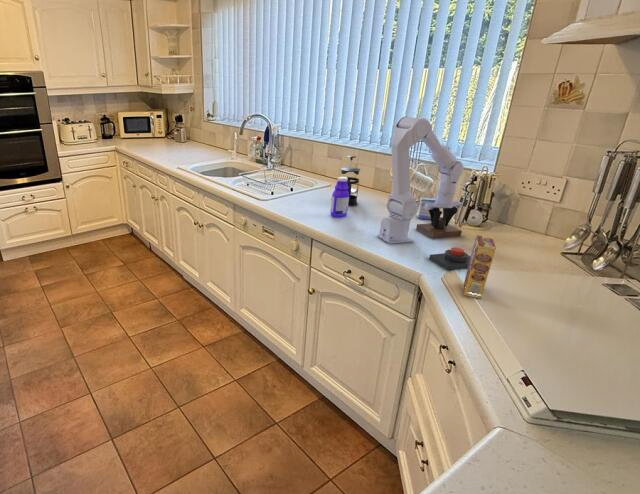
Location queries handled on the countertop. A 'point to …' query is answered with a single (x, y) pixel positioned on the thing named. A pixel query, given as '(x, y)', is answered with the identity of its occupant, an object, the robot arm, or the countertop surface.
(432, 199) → the medicine box
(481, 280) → the candy box
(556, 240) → the countertop surface
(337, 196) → the bottle
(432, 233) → the panel
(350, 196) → the french press
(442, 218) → the dimmer knob
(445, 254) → the switch block
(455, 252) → the switch button
